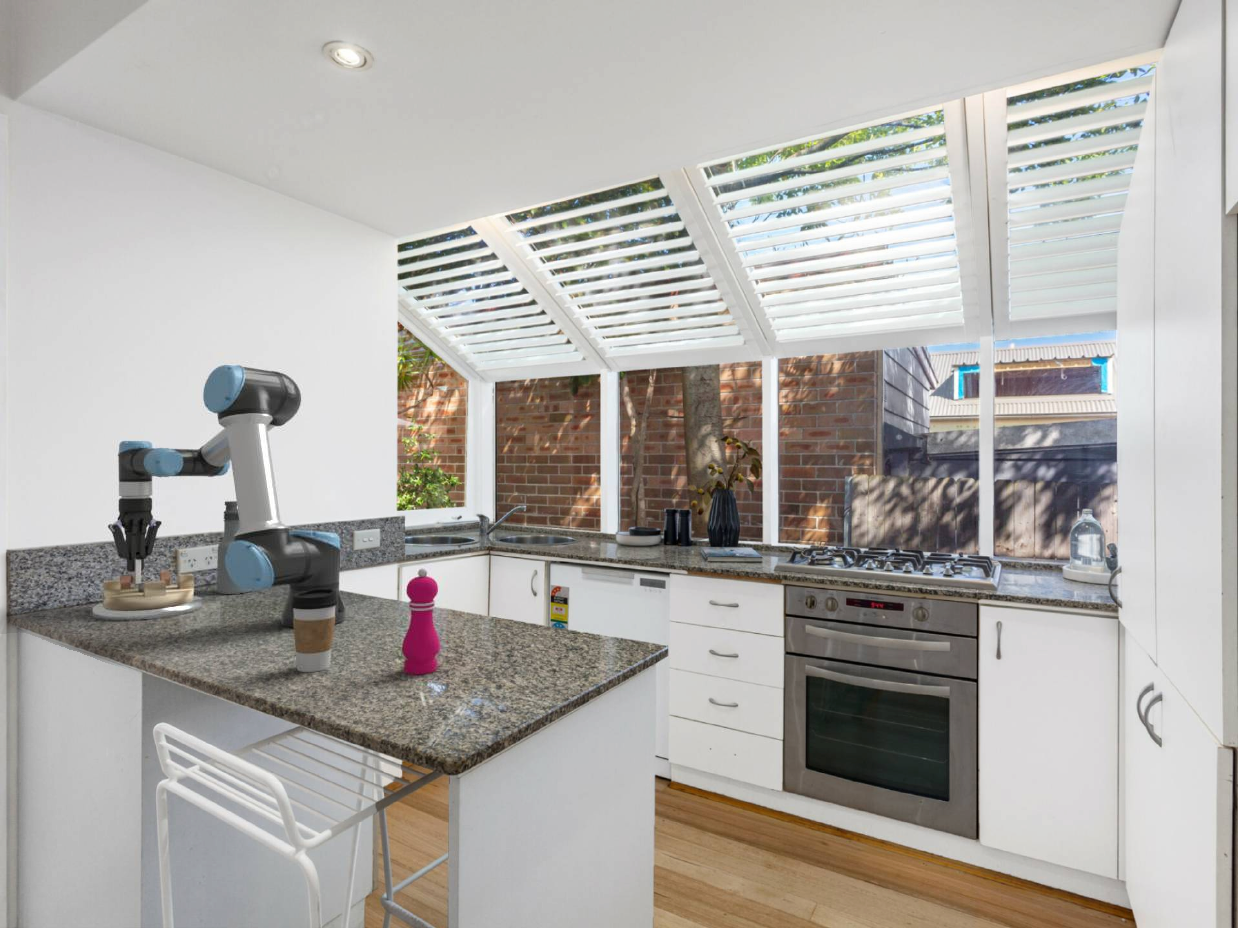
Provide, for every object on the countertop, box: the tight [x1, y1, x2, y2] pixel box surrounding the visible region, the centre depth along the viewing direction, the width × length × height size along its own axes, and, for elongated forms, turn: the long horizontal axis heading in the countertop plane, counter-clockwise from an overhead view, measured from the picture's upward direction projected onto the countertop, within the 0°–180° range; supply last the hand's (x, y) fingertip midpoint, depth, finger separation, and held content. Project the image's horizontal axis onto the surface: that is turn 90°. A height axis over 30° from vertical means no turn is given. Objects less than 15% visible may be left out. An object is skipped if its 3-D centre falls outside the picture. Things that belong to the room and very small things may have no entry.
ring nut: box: [102, 571, 195, 610], centre depth 182 cm, size 20×20×6 cm
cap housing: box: [92, 595, 203, 622], centre depth 182 cm, size 24×24×4 cm
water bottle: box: [216, 500, 253, 595], centre depth 210 cm, size 10×10×28 cm
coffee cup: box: [291, 588, 338, 673], centre depth 134 cm, size 8×8×15 cm
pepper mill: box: [401, 567, 441, 675], centre depth 134 cm, size 7×7×20 cm
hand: (135, 582), depth 186 cm, fingers closed
